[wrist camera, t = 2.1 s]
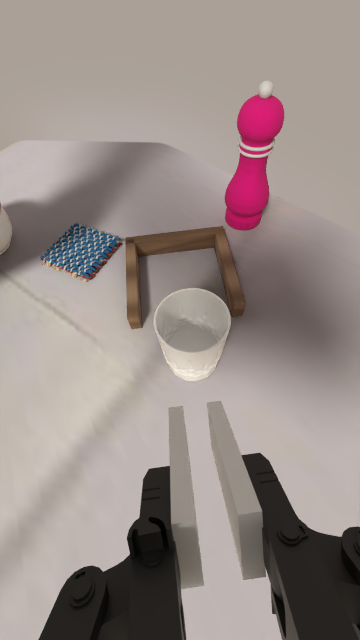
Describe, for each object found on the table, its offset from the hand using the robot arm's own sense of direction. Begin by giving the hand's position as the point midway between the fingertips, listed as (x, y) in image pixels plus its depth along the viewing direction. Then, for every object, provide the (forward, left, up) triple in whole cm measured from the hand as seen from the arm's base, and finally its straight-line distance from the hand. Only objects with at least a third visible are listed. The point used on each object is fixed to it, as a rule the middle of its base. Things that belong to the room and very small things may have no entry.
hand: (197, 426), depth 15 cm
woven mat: (-37, +4, -19) cm, 41 cm away
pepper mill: (-25, +31, -18) cm, 44 cm away
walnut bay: (-21, +14, -18) cm, 31 cm away
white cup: (-10, +7, -18) cm, 22 cm away
